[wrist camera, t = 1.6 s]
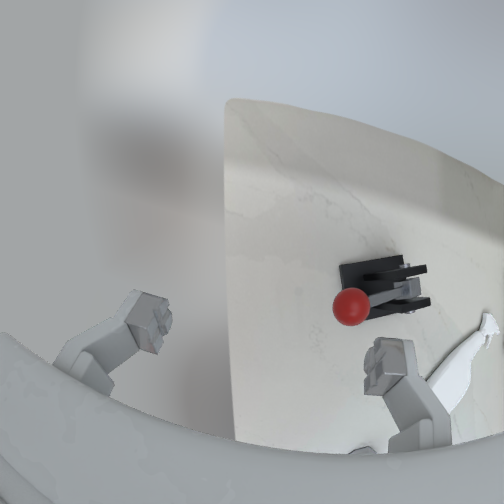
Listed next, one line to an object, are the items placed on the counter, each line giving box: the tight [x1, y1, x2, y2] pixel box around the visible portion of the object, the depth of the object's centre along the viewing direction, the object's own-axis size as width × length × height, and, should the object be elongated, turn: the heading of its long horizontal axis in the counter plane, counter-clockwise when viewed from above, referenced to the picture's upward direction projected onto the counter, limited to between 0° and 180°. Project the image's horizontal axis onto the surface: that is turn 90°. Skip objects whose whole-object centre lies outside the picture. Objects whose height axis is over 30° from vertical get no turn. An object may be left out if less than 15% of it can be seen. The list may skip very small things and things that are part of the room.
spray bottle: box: [427, 313, 500, 414], centre depth 36 cm, size 3×11×24 cm
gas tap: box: [339, 255, 431, 320], centre depth 34 cm, size 11×9×13 cm
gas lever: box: [333, 277, 421, 326], centre depth 26 cm, size 14×4×4 cm, turn 98°
